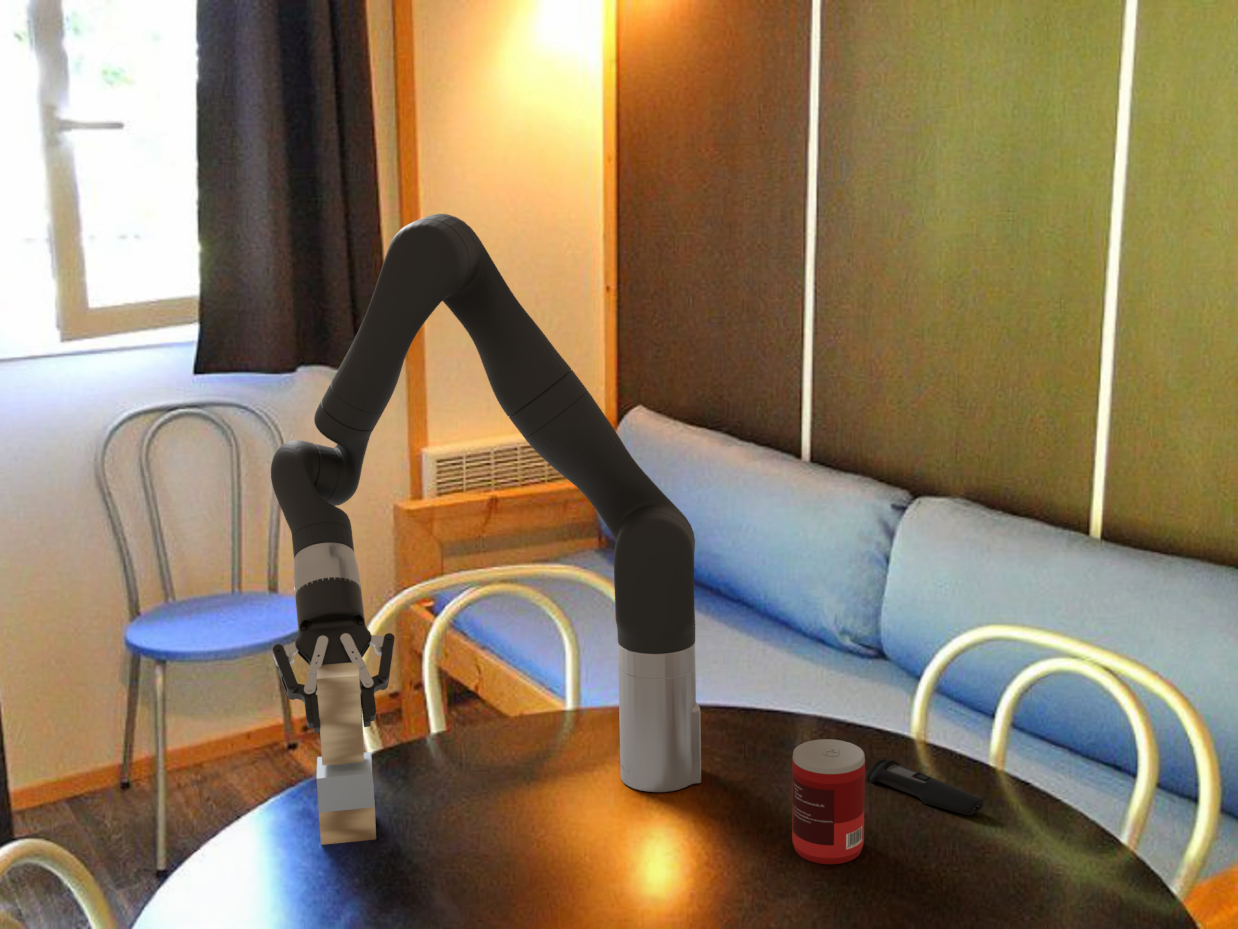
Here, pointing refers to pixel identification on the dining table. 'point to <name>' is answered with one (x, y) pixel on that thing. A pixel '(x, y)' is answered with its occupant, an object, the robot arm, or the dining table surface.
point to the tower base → (347, 825)
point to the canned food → (828, 801)
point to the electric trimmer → (924, 787)
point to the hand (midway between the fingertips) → (342, 726)
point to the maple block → (340, 713)
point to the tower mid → (345, 785)
